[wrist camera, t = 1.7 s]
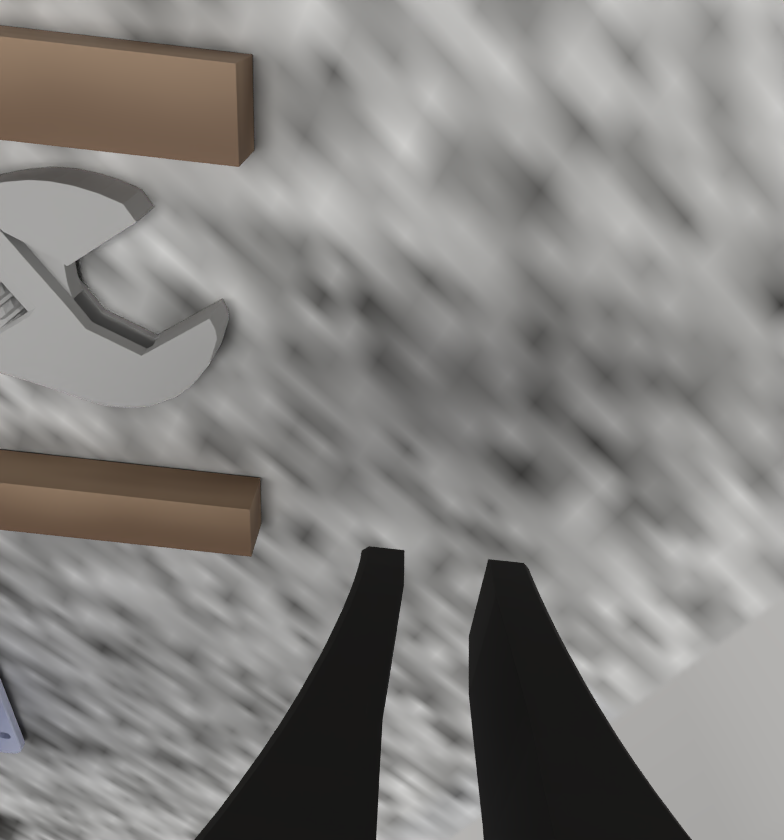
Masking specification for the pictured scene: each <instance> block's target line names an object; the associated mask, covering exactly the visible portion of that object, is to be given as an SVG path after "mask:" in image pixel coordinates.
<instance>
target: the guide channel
mask: <svg viewBox="0 0 784 840" xmlns="http://www.w3.org/2000/svg"><path fill="white" fill-rule="evenodd" d="M0 140H8V141H17V142H25V143H34V144H43V145H52V146H61V147H69V148H78V149H87V150H96V151H105V152H113V153H122V154H131V155H140V156H148V157H157V158H166V159H175V160H184V161H192V162H201V163H210V164H219V165H228V166H236V167H239V166H240V165H241V164H242V163H243V162H244V161H245V160H246V159H247V158H248V157H249V155H250V154H251V153H252V152H253V151H254V112H253V58H252V54H243V53H234V52H226V51H217V50H208V49H200V48H191V47H182V46H174V45H165V44H156V43H148V42H139V41H130V40H122V39H113V38H105V37H96V36H87V35H79V34H70V33H61V32H53V31H44V30H35V29H27V28H18V27H9V26H1V25H0ZM260 526H261V485H260V478H255V477H246V476H237V475H228V474H219V473H209V472H200V471H191V470H182V469H173V468H163V467H154V466H145V465H136V464H127V463H117V462H108V461H99V460H90V459H81V458H71V457H62V456H53V455H44V454H34V453H25V452H16V451H7V450H0V530H8V531H18V532H27V533H36V534H46V535H55V536H64V537H74V538H83V539H92V540H102V541H111V542H120V543H130V544H139V545H148V546H158V547H167V548H176V549H185V550H195V551H204V552H213V553H223V554H232V555H241V556H252V552H253V549H254V546H255V543H256V539H257V536H258V533H259V530H260Z"/></svg>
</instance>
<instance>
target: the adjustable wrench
mask: <svg viewBox="0 0 784 840" xmlns="http://www.w3.org/2000/svg"><path fill="white" fill-rule="evenodd" d="M152 208H154V205H153V204H152V203H151V201H150V200H149V198H148V197H147V196H146V194H145V193H144V191H143V190H142V189H140V188H138V187H135V186H133V185H131V184H128V183H126V182H124V181H121V180H119V179H116V178H113V177H109V176H106V175H103V174H100V173H96V172H91V171H86V170H81V169H76V168H64V167H45V168H34V169H27V170H20V171H15V172H10V173H6V174H1V175H0V373H1V374H5V375H8V376H12V377H15V378H19V379H22V380H26V381H29V382H33V383H36V384H39V385H42V386H45V387H48V388H51V389H54V390H57V391H60V392H63V393H66V394H69V395H72V396H75V397H78V398H81V399H84V400H87V401H90V402H93V403H96V404H100V405H106V406H112V407H125V408H136V407H147V406H153V405H156V404H159V403H161V402H164V401H167V400H169V399H172V398H175V397H177V396H178V395H180V394H181V393H182V392H184V391H185V390H187V389H188V388H189V387H191V386H192V385H193V384H194V383H195V381H196V380H197V379H198V378H199V376H200V375H201V374H202V373H203V372H204V370H205V369H206V368H207V367H208V366H209V364H210V362H211V361H212V359H213V357H214V355H215V354H216V352H217V350H218V349H219V347H220V345H221V343H222V340H223V337H224V334H225V331H226V327H227V324H228V321H229V318H230V317H229V312H228V308H227V306H226V304H225V302H224V301H223V299H221V300H219V301H217V302H216V303H214V304H212V305H210V306H208V307H207V308H205V309H203V310H201V311H199V312H198V313H196V314H194V315H192V316H190V317H189V318H187V319H185V320H183V321H182V322H180V323H178V324H176V325H174V326H173V327H171V328H169V329H167V330H165V331H164V332H162V333H160V334H158V335H157V334H155V333H153V332H150V331H148V330H146V329H144V328H142V327H140V326H138V325H136V324H134V323H132V322H130V321H128V320H126V319H124V318H122V317H120V316H118V315H116V314H114V313H112V312H110V311H107V310H105V309H104V308H103V307H102V305H101V304H100V303H99V302H98V300H97V299H96V298H95V297H94V295H93V294H92V293H91V292H90V290H89V289H88V288H87V287H86V286H85V285H84V283H83V282H82V281H81V280H80V279H79V277H78V274H77V269H76V262H75V261H76V260H78V259H79V258H81V257H83V256H84V255H86V254H87V253H89V252H90V251H92V250H94V249H95V248H97V247H98V246H100V245H101V244H103V243H105V242H106V241H108V240H109V239H111V238H112V237H114V236H115V235H117V234H119V233H120V232H122V231H123V230H125V229H126V228H128V227H130V226H131V225H133V224H134V223H136V222H137V221H138V220H140V219H141V218H142V217H143V216H144V215H145V214H147V213H148V212H149V211H150V210H151V209H152Z"/></svg>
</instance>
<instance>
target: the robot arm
mask: <svg viewBox="0 0 784 840" xmlns="http://www.w3.org/2000/svg"><path fill="white" fill-rule="evenodd" d="M403 587H404V550H397V549H388V548H379V547H367V548H366V549H364V550H362V553H361V558H360V563H359V566H358V570H357V573H356V576H355V579H354V582H353V585H352V588H351V590H350V593H349V595H348V598H347V600H346V602H345V605H344V607H343V610H342V612H341V614H340V616H339V618H338V620H337V622H336V624H335V627H334V629H333V631H332V633H331V635H330V637H329V639H328V641H327V643H326V645H325V647H324V649H323V651H322V653H321V655H320V657H319V658H318V660H317V662H316V664H315V666H314V667H313V669H312V671H311V673H310V674H309V676H308V678H307V680H306V682H305V683H304V685H303V687H302V689H301V690H300V692H299V694H298V696H297V697H296V699H295V701H294V702H293V704H292V705H291V707H290V709H289V710H288V712H287V713H286V715H285V717H284V718H283V720H282V721H281V723H280V724H279V726H278V728H277V729H276V731H275V732H274V734H273V735H272V737H271V738H270V740H269V741H268V743H267V744H266V746H265V747H264V749H263V750H262V751H261V753H260V754H259V756H258V757H257V758H256V760H255V761H254V763H253V764H252V765H251V767H250V768H249V770H248V771H247V772H246V774H245V775H244V777H243V778H242V779H241V781H240V782H239V784H238V785H237V786H236V788H235V789H234V790H233V792H232V793H231V794H230V796H229V797H228V798H227V800H226V801H225V802H224V804H223V805H222V806H221V808H220V809H219V810H218V811H217V813H216V814H215V815H214V816H213V818H212V819H211V820H210V821H209V823H208V824H207V825H206V826H205V828H204V829H203V830H202V831H201V832H200V834H199V835H198V836H197V837H196V839H195V840H376V830H377V811H378V791H379V772H380V755H381V737H382V719H383V713H384V707H385V701H386V695H387V689H388V683H389V676H390V670H391V664H392V657H393V651H394V644H395V638H396V632H397V625H398V619H399V612H400V606H401V600H402V593H403ZM469 700H470V710H471V720H472V729H473V739H474V748H475V758H476V767H477V776H478V786H479V795H480V805H481V814H482V823H483V835H484V840H692V839H691V838H690V837H689V836H688V835H687V833H686V832H685V831H684V829H683V828H682V827H681V825H680V824H679V823H678V821H677V820H676V819H675V818H674V816H673V815H672V813H671V812H670V811H669V809H668V808H667V807H666V805H665V804H664V803H663V802H662V800H661V799H660V798H659V796H658V795H657V793H656V792H655V791H654V789H653V788H652V786H651V785H650V784H649V782H648V781H647V779H646V778H645V776H644V775H643V774H642V772H641V771H640V769H639V768H638V767H637V765H636V764H635V762H634V761H633V759H632V758H631V756H630V755H629V753H628V752H627V750H626V749H625V747H624V746H623V744H622V743H621V741H620V740H619V738H618V737H617V735H616V733H615V732H614V730H613V729H612V727H611V725H610V724H609V722H608V721H607V719H606V717H605V716H604V714H603V712H602V711H601V709H600V708H599V706H598V704H597V703H596V701H595V699H594V698H593V696H592V694H591V692H590V691H589V689H588V687H587V686H586V684H585V682H584V680H583V678H582V677H581V675H580V673H579V671H578V669H577V668H576V666H575V664H574V662H573V660H572V658H571V657H570V655H569V653H568V651H567V649H566V647H565V646H564V644H563V642H562V640H561V638H560V636H559V634H558V632H557V630H556V628H555V626H554V624H553V622H552V620H551V618H550V616H549V614H548V612H547V609H546V607H545V605H544V603H543V601H542V599H541V597H540V594H539V592H538V590H537V588H536V585H535V583H534V581H533V578H532V576H531V574H530V571H529V569H528V568H527V566H526V565H525V564H524V563H518V562H509V561H499V560H490V559H488V563H487V567H486V571H485V575H484V579H483V583H482V587H481V590H480V594H479V598H478V602H477V606H476V610H475V614H474V618H473V622H472V626H471V630H470V634H469ZM24 744H25V741H24V738H23V736H22V733H21V731H20V728H19V726H18V723H17V720H16V718H15V715H14V713H13V710H12V708H11V705H10V702H9V700H8V697H7V695H6V692H5V689H4V687H3V684H2V682H1V679H0V752H5V753H18V752H20V751H21V750H22V748H23V746H24Z"/></svg>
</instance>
